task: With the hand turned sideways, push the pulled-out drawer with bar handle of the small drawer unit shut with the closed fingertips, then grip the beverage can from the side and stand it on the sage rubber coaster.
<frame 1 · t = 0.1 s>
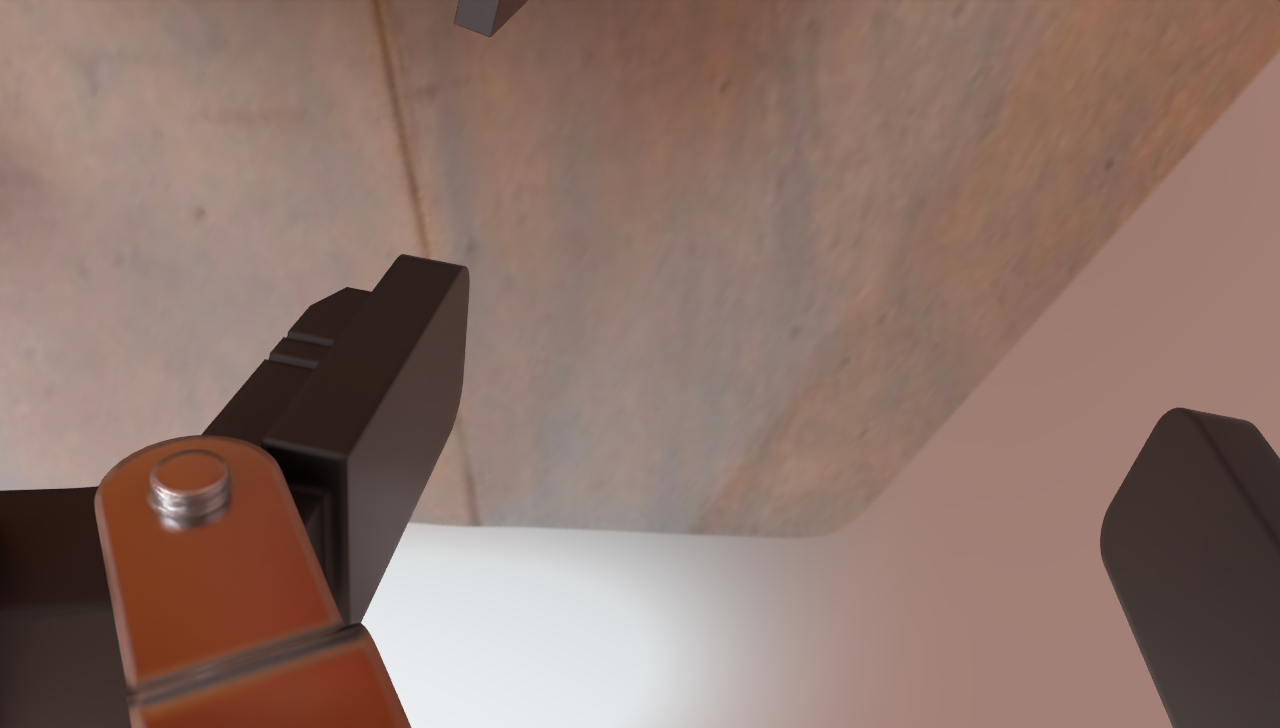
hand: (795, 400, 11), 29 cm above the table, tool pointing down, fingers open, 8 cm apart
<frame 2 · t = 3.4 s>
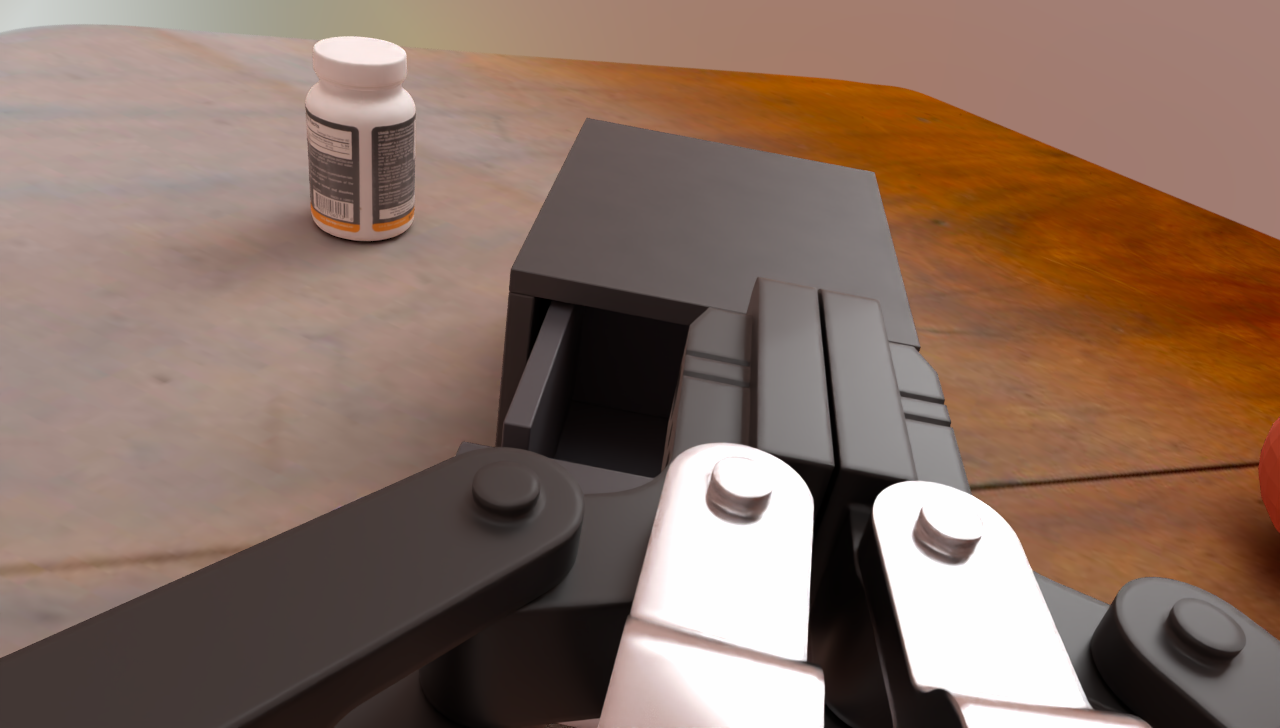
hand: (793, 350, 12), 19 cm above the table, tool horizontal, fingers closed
small drawer unit: (679, 415, 43), on the table
drawer with bar handle: (678, 503, 31), point 5 cm above the table, slide at 8.0 cm
pill bottle: (363, 225, 54), on the table
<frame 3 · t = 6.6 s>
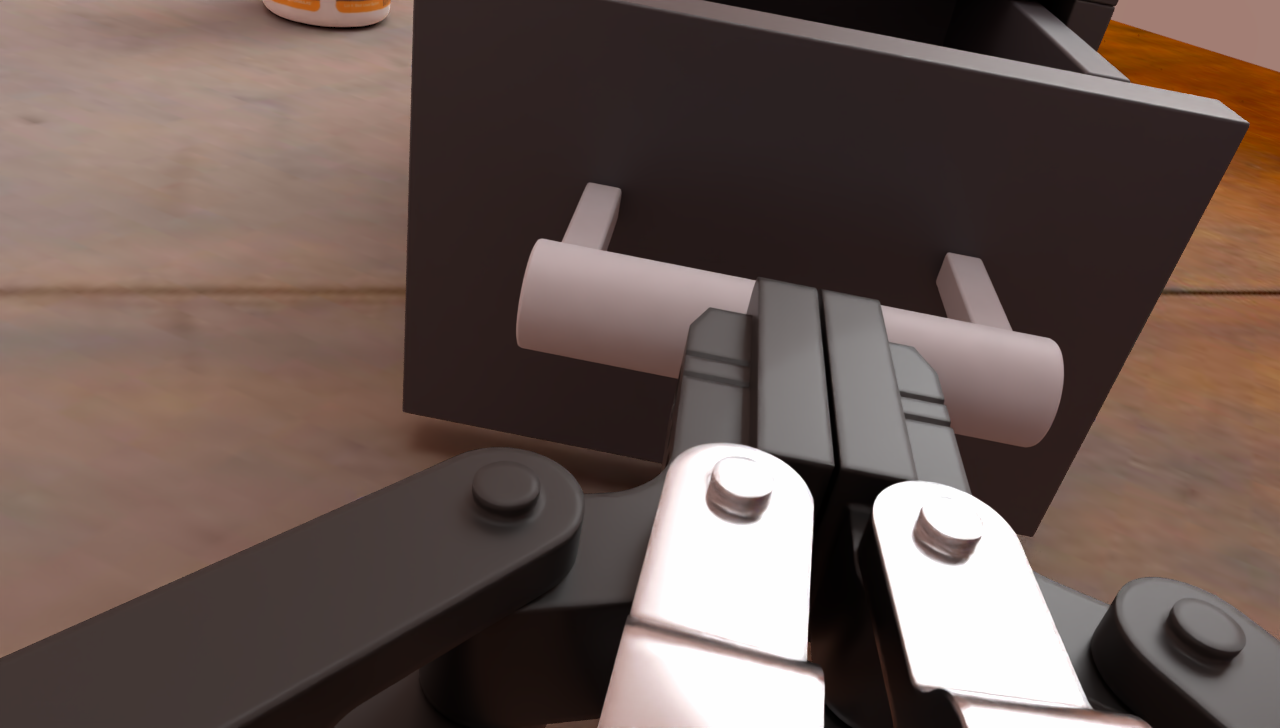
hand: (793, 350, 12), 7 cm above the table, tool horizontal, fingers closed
small drawer unit: (732, 200, 33), on the table
drawer with bar handle: (766, 179, 21), point 5 cm above the table, slide at 7.2 cm, touching gripper
pill bottle: (326, 17, 44), on the table
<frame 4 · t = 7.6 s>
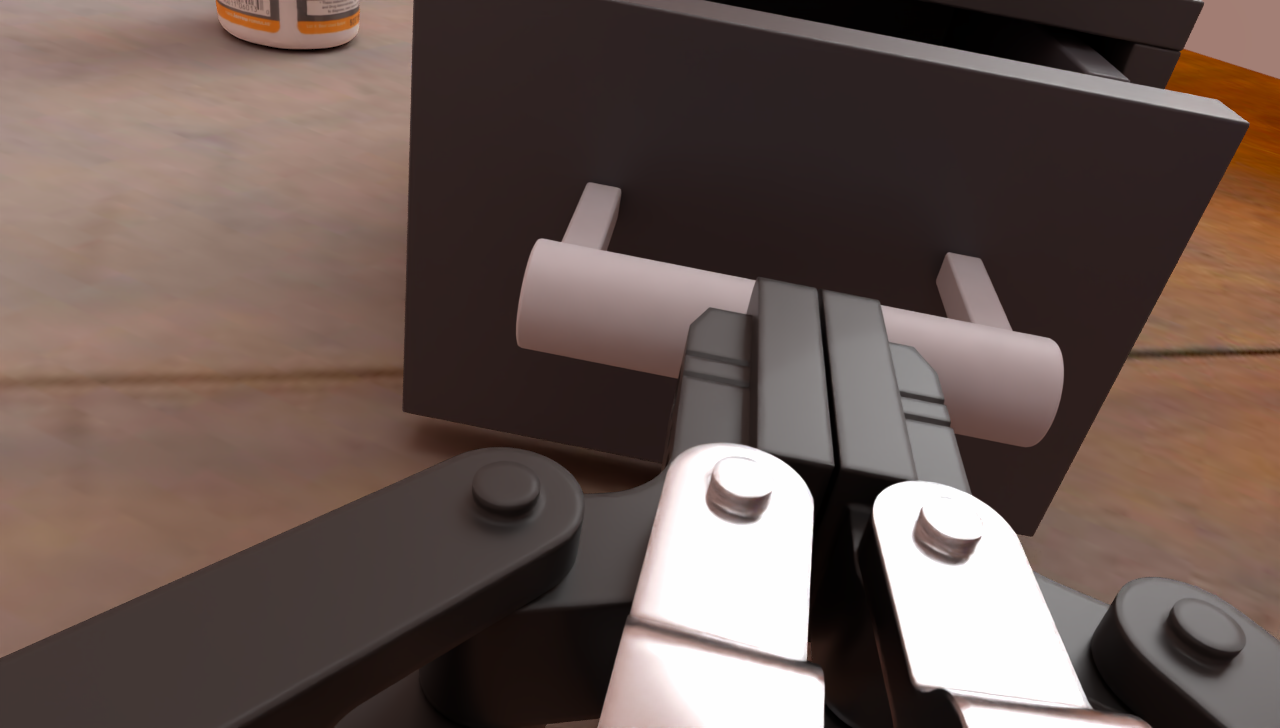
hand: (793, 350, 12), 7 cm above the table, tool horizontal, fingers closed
small drawer unit: (728, 249, 29), on the table
drawer with bar handle: (765, 178, 21), point 5 cm above the table, slide at 3.2 cm, touching gripper
pill bottle: (289, 37, 40), on the table
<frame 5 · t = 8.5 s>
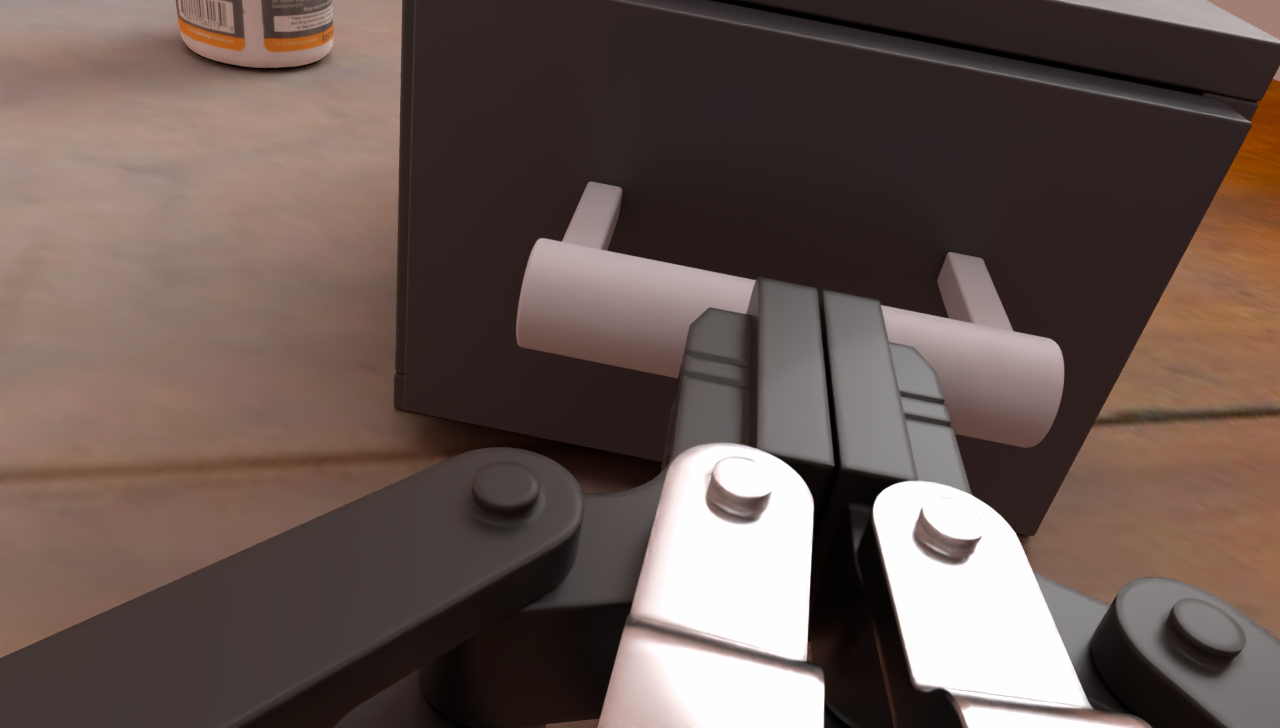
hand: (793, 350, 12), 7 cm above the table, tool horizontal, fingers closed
small drawer unit: (726, 296, 27), on the table
drawer with bar handle: (767, 177, 21), point 5 cm above the table, slide at 0.0 cm, touching small drawer unit, gripper
pill bottle: (258, 54, 38), on the table
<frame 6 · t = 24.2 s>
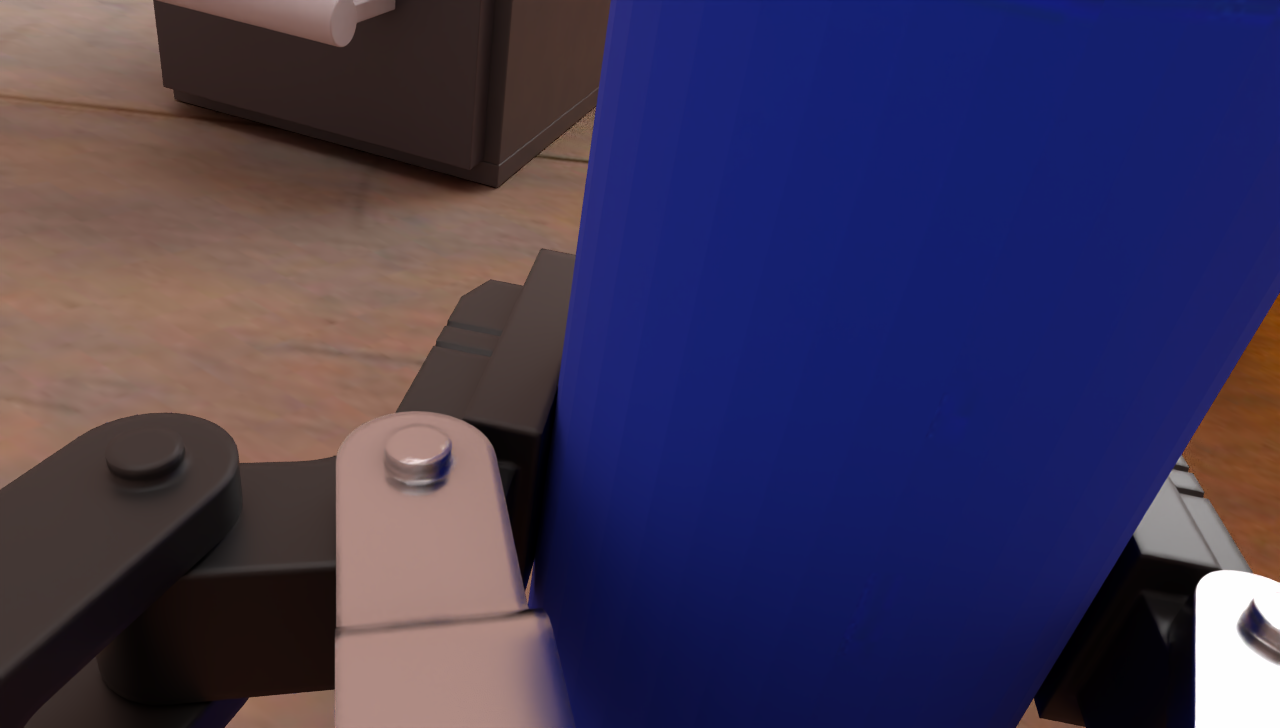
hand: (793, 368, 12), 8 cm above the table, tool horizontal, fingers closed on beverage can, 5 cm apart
small drawer unit: (427, 90, 43), on the table
when the fingers open (9 cm above the table, at t = 33.1 s): beverage can stays where it is, resting on coaster.
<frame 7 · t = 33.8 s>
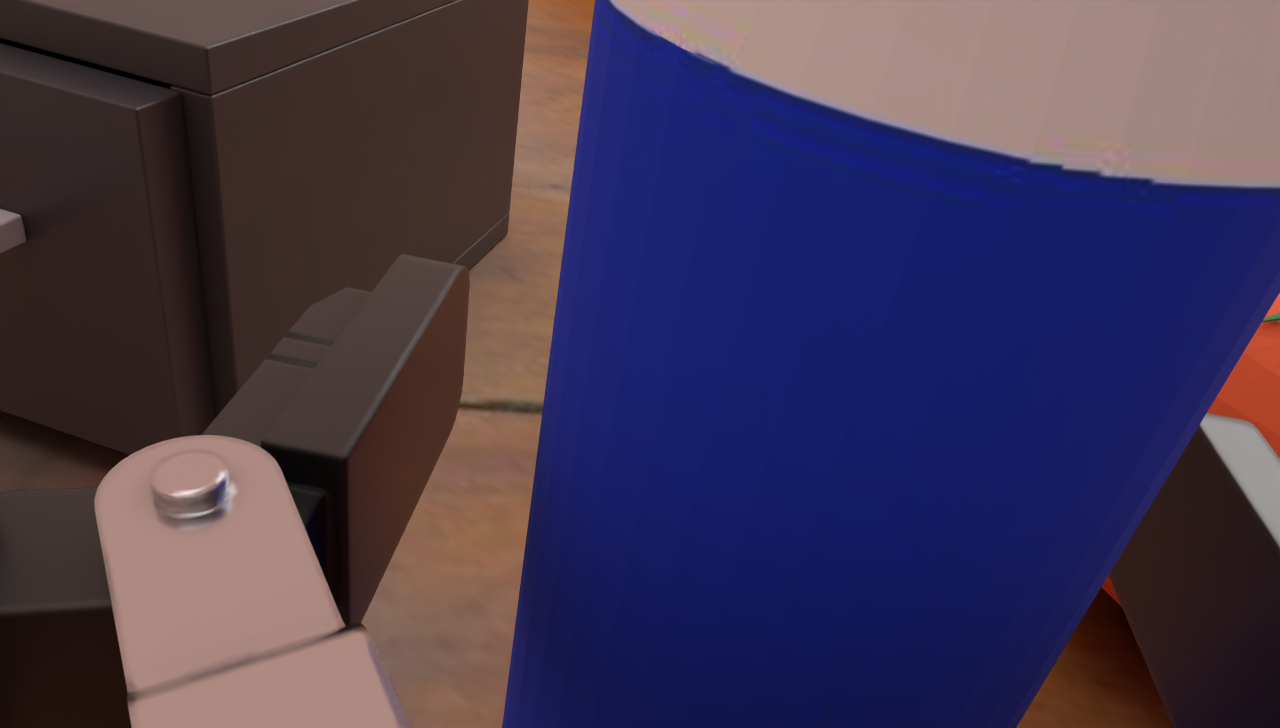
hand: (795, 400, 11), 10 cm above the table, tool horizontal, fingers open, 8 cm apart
small drawer unit: (209, 270, 30), on the table
tomato: (1186, 618, 24), on the table
drawer with bar handle: (89, 155, 24), point 5 cm above the table, slide at 0.0 cm, touching small drawer unit
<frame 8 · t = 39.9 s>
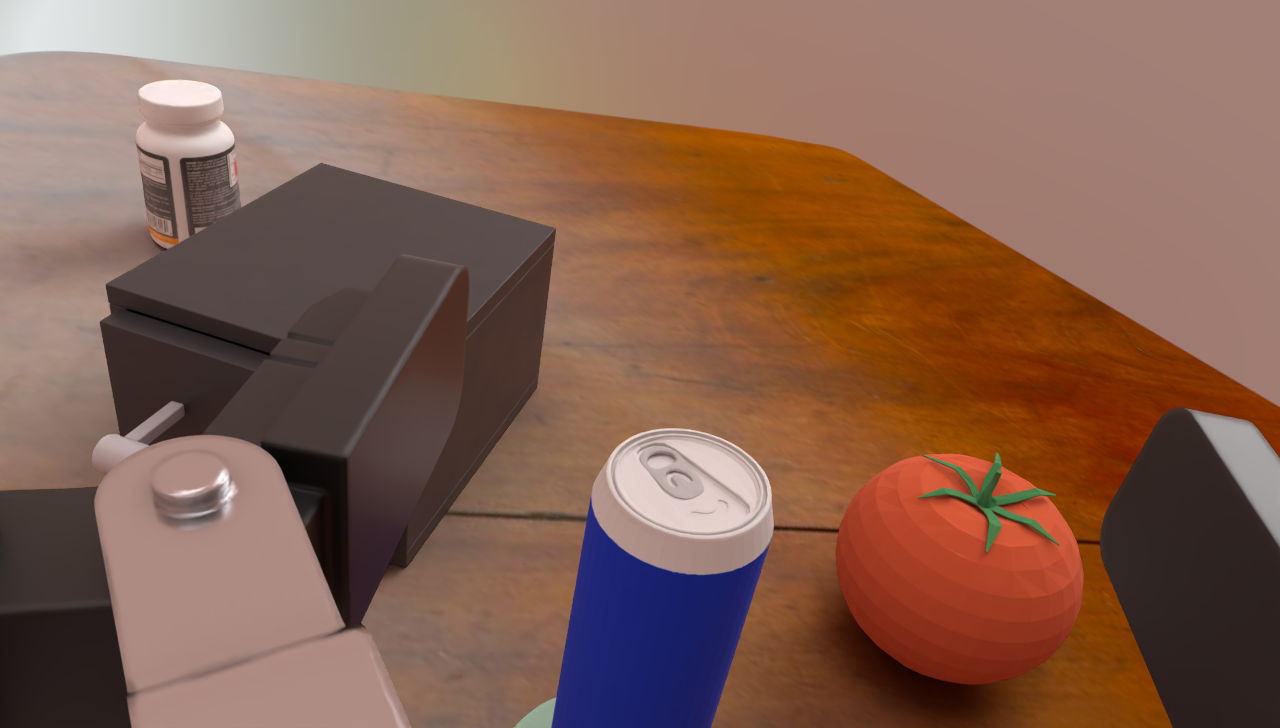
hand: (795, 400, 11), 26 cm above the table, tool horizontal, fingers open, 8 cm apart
small drawer unit: (359, 426, 50), on the table
tomato: (919, 639, 44), on the table
drawer with bar handle: (314, 385, 44), point 5 cm above the table, slide at 0.0 cm, touching small drawer unit
pill bottle: (197, 239, 63), on the table
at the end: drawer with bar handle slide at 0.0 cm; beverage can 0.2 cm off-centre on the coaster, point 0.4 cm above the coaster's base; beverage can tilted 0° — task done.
